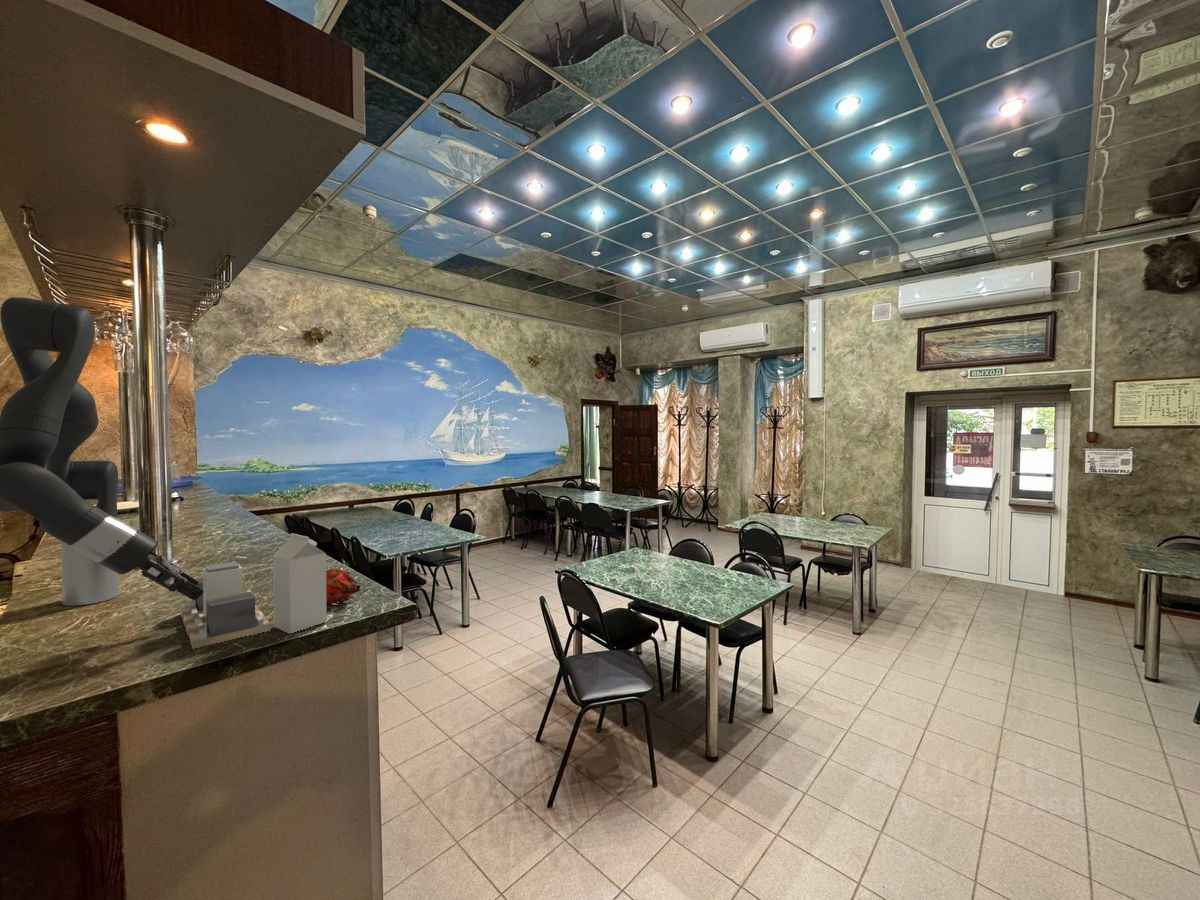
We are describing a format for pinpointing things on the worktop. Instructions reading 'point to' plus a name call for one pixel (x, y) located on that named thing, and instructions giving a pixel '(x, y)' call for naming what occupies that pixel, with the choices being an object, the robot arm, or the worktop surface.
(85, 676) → the worktop surface
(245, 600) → the rail plate
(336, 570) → the dragon fruit
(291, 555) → the milk carton
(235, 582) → the block
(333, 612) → the worktop surface
